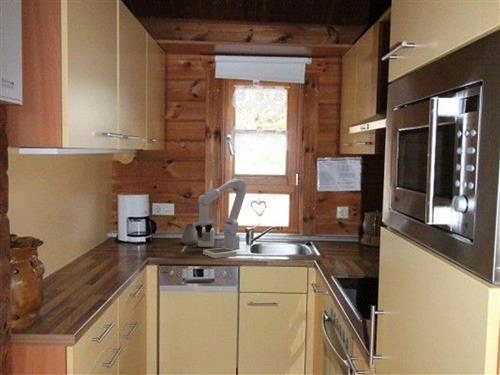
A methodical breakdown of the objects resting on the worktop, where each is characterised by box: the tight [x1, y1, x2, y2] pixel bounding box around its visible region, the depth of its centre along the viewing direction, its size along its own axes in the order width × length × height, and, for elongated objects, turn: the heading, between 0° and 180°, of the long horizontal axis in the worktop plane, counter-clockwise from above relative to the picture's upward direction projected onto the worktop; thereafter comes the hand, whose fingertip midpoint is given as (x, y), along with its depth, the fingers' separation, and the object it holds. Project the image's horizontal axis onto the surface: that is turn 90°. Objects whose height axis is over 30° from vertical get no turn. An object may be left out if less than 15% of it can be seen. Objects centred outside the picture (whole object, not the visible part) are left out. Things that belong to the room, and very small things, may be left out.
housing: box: [196, 231, 210, 242], centre depth 278 cm, size 4×8×5 cm, turn 39°
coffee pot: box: [168, 222, 198, 246], centre depth 297 cm, size 21×12×15 cm, turn 132°
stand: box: [202, 247, 238, 259], centre depth 269 cm, size 15×13×3 cm
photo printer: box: [197, 226, 215, 248], centre depth 293 cm, size 10×4×12 cm, turn 98°
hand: (203, 237), depth 278 cm, fingers closed on housing, 4 cm apart
